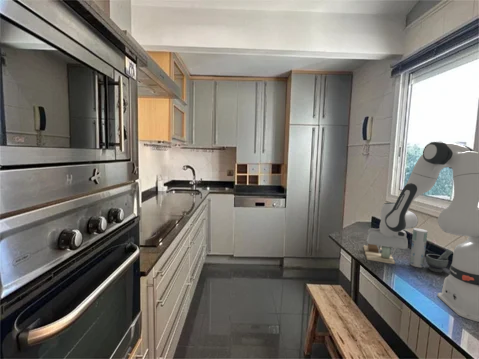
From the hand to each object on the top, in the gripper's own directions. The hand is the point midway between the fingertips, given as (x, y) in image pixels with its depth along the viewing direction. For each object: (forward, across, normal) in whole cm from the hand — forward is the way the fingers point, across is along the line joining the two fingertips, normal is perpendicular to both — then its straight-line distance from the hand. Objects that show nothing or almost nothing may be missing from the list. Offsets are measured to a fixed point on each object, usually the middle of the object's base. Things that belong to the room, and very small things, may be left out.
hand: (385, 253), depth 150 cm
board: (+4, -3, +6) cm, 8 cm away
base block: (+2, -5, +10) cm, 12 cm away
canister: (+2, 0, 0) cm, 2 cm away
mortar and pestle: (+4, +24, -3) cm, 25 cm away
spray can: (+4, +15, 0) cm, 16 cm away
